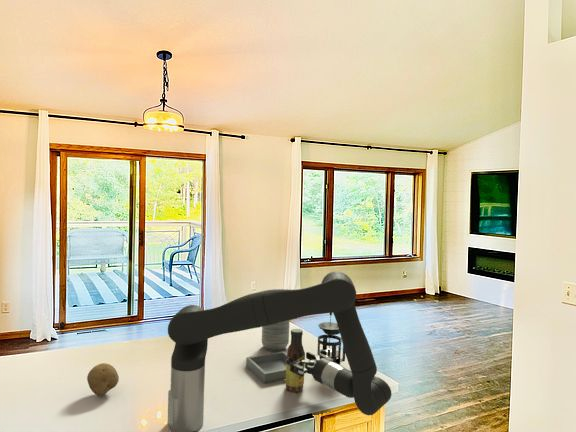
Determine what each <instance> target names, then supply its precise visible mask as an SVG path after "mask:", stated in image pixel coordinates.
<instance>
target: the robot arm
mask: <svg viewBox="0 0 576 432" xmlns="http://www.w3.org/2000/svg"><path fill="white" fill-rule="evenodd" d="M356 300H357V290H356V287H355V285H354V282H353V281H352V279H351V277H350V276H348V274H345V273H344V272H341V271H338V270H337V271H335V270H334V271H331V272H329V273H327V274H326V275H325V276H324V277H323V279H322V281H321V283H317V284H316V285H312V286H309V287H305V288H299V289H286V288H285V289H284V288H283V289H281V288H279V289H278V288H276V289H275V288H274V289H267V290H262V291H258V292H253V293H249V294H247V295H244V296H243V295H242V296H241V297H237V298H236V299H234V300H231V301H229V302H227V303H224V304H222V305H220V306H217V307H214V308H209V309H204V308H203V307H201V306H199V305H195V304H190V305H186V306H184V307H182V308H181V309H179V310H178V312H176V313H175V314H174V315H173V316H172V317H171V319H170V321H169V323H168V325H167V335H168V338H170V339H171V341H173V342H174V348H173V352H172V353H171V358H170V389H169V390H167V391H168V392H167V393H168V394H167V395H168V396H167V425H168V427H169V429H170V431H171V432H197V431H199V430H200V429H201V428H202V427H203V425H204V416H205V415H204V409H205V408H204V407H205V406H204V404H205V376H206V375H205V374H206V373H205V371H206V358H207V351H208V346H209V345H208V342H209V340H208V339H211V338H213V337H217V336H221V335H225V334H230V333H235V332H242V331H243V332H244V331H248V330H252V329H257V328H262V327H263V326H268V325H272V324H276V323H279V322H284V321H288V320H290V321H292V320H295V319H298V318H303V317H307V316H312V315H322V314H330V313H332V312H333V313H332V315H333V316H334V318H335V323H337V324H338V328H339V331H340V334H339V335H340V338H341V339H342V341H341V344H342V348H343V347H344V350H345V358H346V360H347V362H348V365H349V369H347V368H346V367H344V366H343V365H341V364H340V365H339V364H337V363H335V362H333V359H331V358H329V357H327V356H325V355H323V354H320V356H318V355H317V353H316V354H314V353H311V352H310V351H307V352H305V360H301V361H296V360H294V359H292V358H290V357H287V364H288V365H290V371H291V372H293V373H295V374H297V375H299V376H301V377H303V376H304V377H305V374H309V375H311V376H312V378H313V379H314V381H316V382H317V383H319V384H321V385H322V386H325V387H326V388H328V389H330V390H333V391H335V392H336V393H337V392H338V393H339V394H341V395H343V396H345V397H346V398H350V399H354V403H355V405H356V407H357V409H358V410H359V411H360V413H362V414H363V415H365V416H373V415H375V414H376V413H377V412H378V411H379V410H380V409H381V408H382V407H384V406H385V405H386V404H387V403H388V402H389V401H390V400H391V397H392V390H391V387H390V385H389V384H388V383H387V382H386V381H385V380H384V379H382V378H380V377H378V376H376V375H377V372H378V370H377V369H378V367H377V365H376V361H375V357H374V355H373V352H372V349H371V345H370V343H369V340H368V339H367V335H366V333H365V332H364V328H363V326H362V324H361V321H360V318H359V316H358V312H357V308H356V304H355V302H356ZM306 359H307V360H306ZM303 363H305V367H304V368H303ZM297 364H300V366H299V365H297Z"/></svg>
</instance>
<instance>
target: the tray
mask: <svg viewBox="0 0 576 432" xmlns="http://www.w3.org/2000/svg"><path fill="white" fill-rule="evenodd" d="M286 360H287V352H285V351H284V350H282V351H276V352H272V353H266V354H259V355H253V356H247V357H246V362H245V363H246V364H245V367H246V368H247V369H248V370H249V371H250V372H251V373H252V374H253V375H254V376H255V377H257V379H259V381H261V382H262V383H263V384H264V385H266V384H270V383H271V384H272V383H275V382H280V381H286Z"/></svg>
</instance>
